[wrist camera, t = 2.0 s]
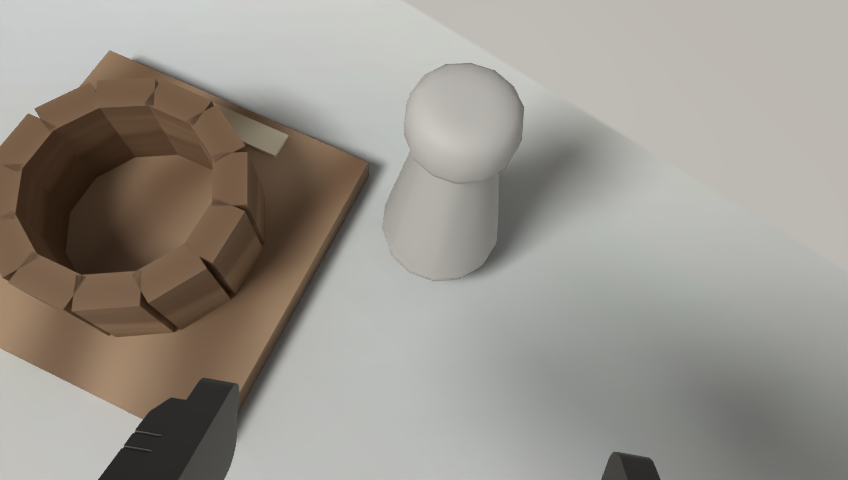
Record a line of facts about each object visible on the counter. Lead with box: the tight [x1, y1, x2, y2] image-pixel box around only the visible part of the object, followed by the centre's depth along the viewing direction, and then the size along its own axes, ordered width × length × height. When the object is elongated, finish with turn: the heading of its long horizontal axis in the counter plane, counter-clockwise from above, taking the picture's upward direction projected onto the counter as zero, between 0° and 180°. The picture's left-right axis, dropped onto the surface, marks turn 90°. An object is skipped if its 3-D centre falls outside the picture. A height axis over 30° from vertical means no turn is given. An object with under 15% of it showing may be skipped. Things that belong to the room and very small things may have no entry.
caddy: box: [0, 51, 369, 419], centre depth 30 cm, size 16×16×6 cm
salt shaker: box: [382, 63, 524, 281], centre depth 27 cm, size 6×6×13 cm
